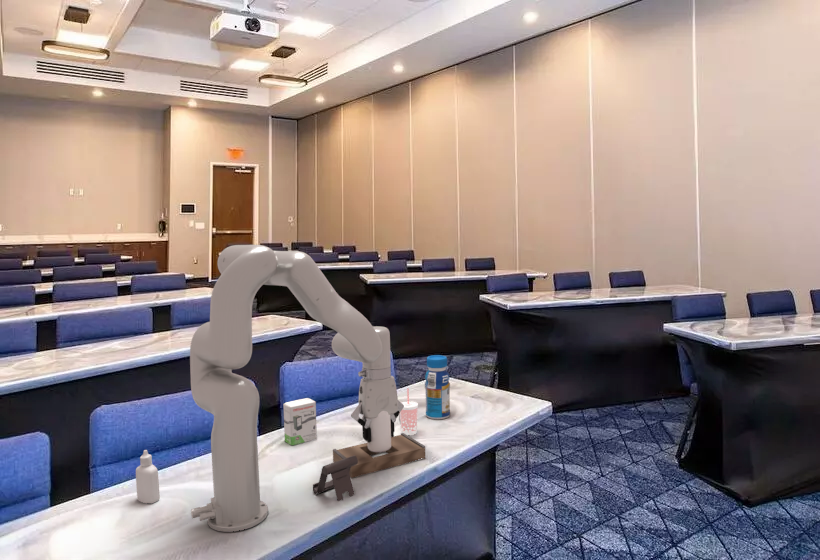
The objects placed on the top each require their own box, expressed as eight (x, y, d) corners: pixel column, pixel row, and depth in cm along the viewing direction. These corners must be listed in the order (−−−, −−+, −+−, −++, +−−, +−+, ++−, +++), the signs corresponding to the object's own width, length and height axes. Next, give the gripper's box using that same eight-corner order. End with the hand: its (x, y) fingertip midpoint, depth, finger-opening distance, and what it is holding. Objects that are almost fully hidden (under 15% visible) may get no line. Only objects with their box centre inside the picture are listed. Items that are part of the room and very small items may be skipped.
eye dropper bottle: (156, 492, 132) (153, 444, 131) (160, 501, 128) (157, 452, 127) (136, 497, 130) (133, 448, 129) (140, 507, 125) (136, 456, 124)
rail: (351, 478, 138) (351, 465, 138) (333, 461, 148) (332, 449, 148) (425, 458, 149) (425, 446, 149) (403, 444, 159) (403, 432, 159)
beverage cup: (422, 434, 167) (421, 389, 166) (403, 437, 164) (402, 392, 163) (414, 428, 172) (413, 384, 171) (396, 431, 170) (395, 387, 169)
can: (370, 454, 145) (368, 410, 143) (365, 445, 151) (363, 403, 150) (393, 451, 146) (392, 407, 145) (388, 442, 152) (387, 400, 151)
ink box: (291, 446, 160) (289, 406, 159) (284, 441, 164) (282, 402, 163) (317, 439, 165) (316, 400, 164) (310, 434, 169) (308, 397, 168)
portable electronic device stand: (343, 481, 136) (342, 448, 136) (362, 492, 131) (361, 458, 130) (312, 493, 131) (311, 459, 130) (331, 504, 125) (329, 469, 124)
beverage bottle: (421, 413, 186) (420, 355, 184) (445, 410, 189) (444, 353, 187) (430, 421, 178) (429, 361, 176) (454, 418, 181) (453, 358, 179)
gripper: (353, 381, 139) (355, 449, 141) (411, 371, 148) (413, 435, 149) (341, 375, 145) (343, 440, 147) (398, 365, 154) (399, 427, 156)
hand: (378, 437), depth 148 cm, fingers closed on can, 6 cm apart
